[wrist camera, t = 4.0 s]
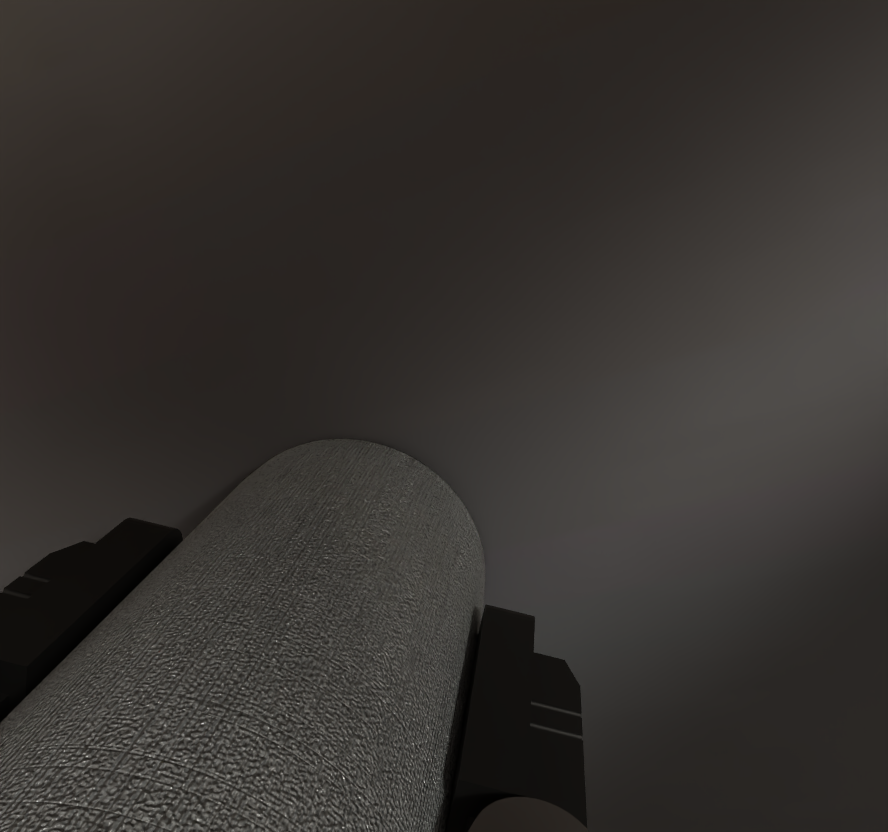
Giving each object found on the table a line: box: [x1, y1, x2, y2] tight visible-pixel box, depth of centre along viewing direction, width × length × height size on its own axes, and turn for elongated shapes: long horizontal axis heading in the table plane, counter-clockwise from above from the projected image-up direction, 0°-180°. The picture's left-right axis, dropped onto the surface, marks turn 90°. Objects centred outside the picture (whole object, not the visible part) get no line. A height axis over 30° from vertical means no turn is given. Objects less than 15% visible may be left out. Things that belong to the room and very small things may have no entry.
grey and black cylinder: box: [0, 439, 485, 832], centre depth 9 cm, size 4×4×10 cm
